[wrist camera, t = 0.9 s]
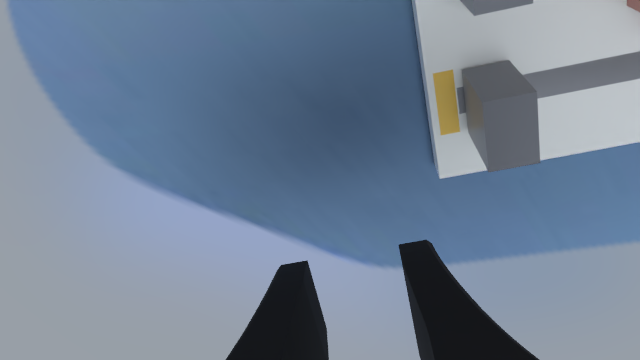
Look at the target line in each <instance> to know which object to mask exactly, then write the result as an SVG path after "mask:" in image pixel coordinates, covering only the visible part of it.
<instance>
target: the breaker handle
mask: <svg viewBox="0 0 640 360" xmlns="http://www.w3.org/2000/svg"><path fill="white" fill-rule="evenodd" d="M462 79H463V88H464V98H465V107H466V117H467V126H468V133H469V135H470V137H471V139H472V141H473V143H474V145H475V147H476V149H477V151H478V153H479V155H480V157H481V159H482V160H483V162H484V164H485V166H486V168H487V170H488V172H493V171H498V170H504V169H509V168H515V167H520V166H526V165H531V164H536V163H540V146H539V123H538V100H537V91H536V90H535V89H534V88H533V86H532V85H531V84H530V83H529V82H528V81H527V80H526V79H525V77H524V76H523V75H522V74H521V73H520V72H519V71H518V70H517V68H516V67H515V66H514V65H513V64H512V63H511V62H510V61H509V60H507V61H502V62H497V63H492V64H487V65H483V66H478V67H473V68H468V69H463V70H462Z"/></svg>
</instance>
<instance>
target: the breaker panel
mask: <svg viewBox="0 0 640 360" xmlns="http://www.w3.org/2000/svg"><path fill="white" fill-rule="evenodd" d="M412 7H413V14H414V21H415V28H416V36H417V43H418V50H419V57H420V64H421V71H422V78H423V85H424V92H425V99H426V107H427V114H428V121H429V128H430V135H431V142H432V149H433V156H434V163H435V167H436V170H437V172H438V175H439V178H440V179H442V178H448V177H453V176H459V175H464V174H469V173H475V172H480V171H486V170H487V168H486V166H485V164H484V162H483V160H482V159H481V157H480V155H479V153H478V151H477V149H476V147H475V145H474V143H473V141H472V139H471V137H470V135H469V133H468V126H467V117H466V107H465V98H464V88H463V79H462V70H463V69H468V68H473V67H478V66H483V65H487V64H492V63H497V62H502V61H507V60H509V61H510V62H511V63H512V64H513V65H514V66H515V67H516V68H517V70H518V71H519V72H520V73H521V74H522V75H523V76H524V77H525V79H526V80H527V81H528V82H529V83H530V84H531V85H532V86H533V88H534V89H535V90H536V91H537V100H538V123H539V146H540V160H545V159H551V158H556V157H561V156H567V155H572V154H578V153H583V152H588V151H594V150H599V149H605V148H610V147H615V146H621V145H626V144H632V143H637V142H640V12H638V11H636V10H634V9H632V8H630V7H628V6H627V0H412Z"/></svg>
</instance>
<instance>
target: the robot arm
mask: <svg viewBox="0 0 640 360" xmlns="http://www.w3.org/2000/svg"><path fill="white" fill-rule="evenodd" d="M399 249H400V254H401V260H402V265H403V270H404V275H405V281H406V286H407V292H408V297H409V302H410V307H411V313H412V318H413V323H414V329H415V334H416V339H417V344H418V349H419V355H420V358H421V360H539V359H538V358H536V357H535V356H534V355H533V354H531V353H530V352H529V351H527V350H526V349H525V348H524V347H523V346H521V345H520V344H519V343H518V342H517V341H515V340H514V339H513V338H512V337H511V336H510V335H508V334H507V333H506V332H505V331H504V330H503V329H502V328H501V327H500V326H499V325H497V323H495V322H494V321H493V320H492V319H491V318H490V317H489V316H488V315H487V314H486V313H485V312H484V311H483V310H482V309H481V307H479V306H478V304H477V303H476V302H475V301H474V300H473V299H472V298H471V297H470V295H469V294H468V293H467V292H466V291H465V290H464V289H463V287H462V286H461V285H460V284H459V283H458V282H457V280H456V279H455V278H454V277H453V275H452V274H451V273H450V271H449V270H448V269H447V267H446V266H445V264H444V263H443V262H442V260H441V259H440V257H439V256H438V254H437V252H436V251H435V249H434V247H433V245H432V243H430V242H429V241H427V240H423V241H417V242H411V243H405V244H400V245H399ZM226 360H329V357H328V342H327V328H326V325H325V321H324V317H323V314H322V311H321V307H320V303H319V300H318V297H317V293H316V289H315V286H314V282H313V279H312V275H311V272H310V268H309V265H308V262H307V261H302V262H296V263H291V264H285V265H281V266H280V267H279V269H278V270H277V272H276V274H275V276H274V278H273V280H272V282H271V284H270V286H269V288H268V290H267V292H266V294H265V296H264V298H263V300H262V301H261V303H260V305H259V307H258V309H257V310H256V312H255V314H254V315H253V317H252V319H251V321H250V322H249V324H248V326H247V328H246V329H245V331H244V333H243V334H242V336H241V337H240V339H239V340H238V342H237V343H236V345H235V346H234V348H233V349H232V351H231V353H230V354H229V356H228V357H227V359H226Z"/></svg>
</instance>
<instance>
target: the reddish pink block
mask: <svg viewBox="0 0 640 360" xmlns="http://www.w3.org/2000/svg"><path fill="white" fill-rule="evenodd" d="M627 6H628V7H630V8H632V9H634V10H636V11H638V12H640V0H627Z"/></svg>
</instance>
